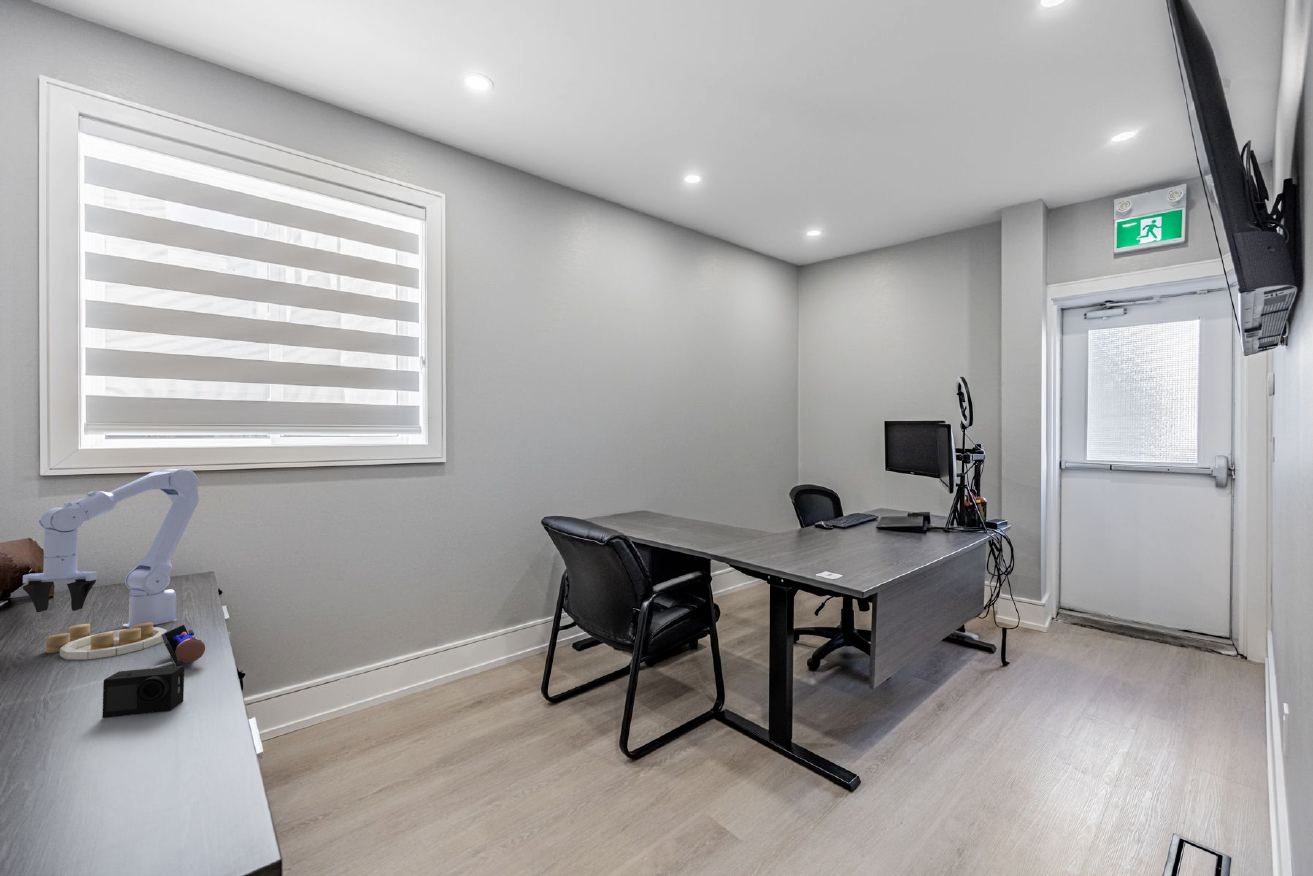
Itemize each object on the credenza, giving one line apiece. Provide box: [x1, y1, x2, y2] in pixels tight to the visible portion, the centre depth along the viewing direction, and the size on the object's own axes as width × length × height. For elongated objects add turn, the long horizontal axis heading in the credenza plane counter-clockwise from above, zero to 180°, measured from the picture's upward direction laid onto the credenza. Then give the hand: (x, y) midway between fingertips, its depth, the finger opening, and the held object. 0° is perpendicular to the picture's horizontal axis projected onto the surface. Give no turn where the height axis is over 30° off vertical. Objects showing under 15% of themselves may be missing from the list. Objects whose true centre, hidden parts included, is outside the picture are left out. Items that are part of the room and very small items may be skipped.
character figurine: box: [161, 624, 206, 666], centre depth 124 cm, size 8×7×15 cm
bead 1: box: [45, 632, 70, 654], centre depth 130 cm, size 4×4×4 cm
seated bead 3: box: [132, 622, 154, 641], centre depth 137 cm, size 4×4×4 cm
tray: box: [59, 626, 168, 660], centre depth 133 cm, size 18×18×2 cm
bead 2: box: [67, 623, 91, 642], centre depth 137 cm, size 4×4×4 cm
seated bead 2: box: [119, 628, 141, 646], centre depth 132 cm, size 4×4×4 cm
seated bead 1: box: [90, 632, 114, 650], centre depth 129 cm, size 4×4×4 cm
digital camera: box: [102, 665, 185, 719], centre depth 100 cm, size 10×5×7 cm, turn 106°
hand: (59, 610), depth 135 cm, fingers open, 7 cm apart
